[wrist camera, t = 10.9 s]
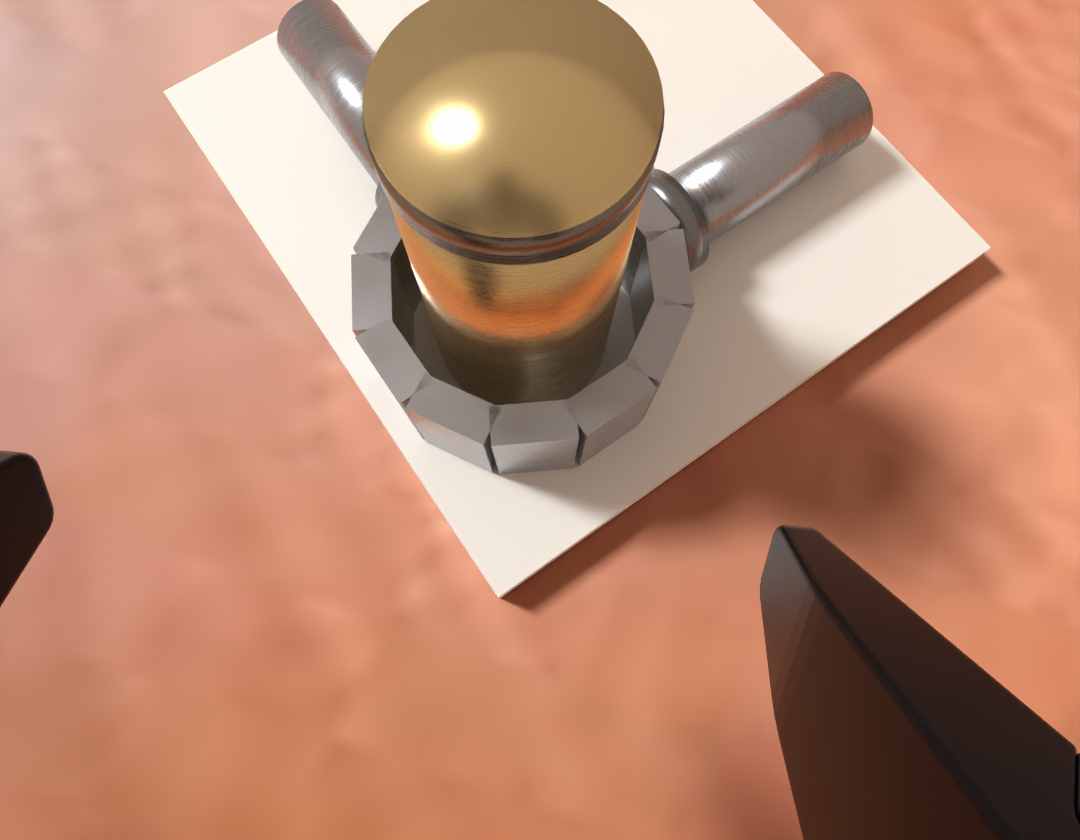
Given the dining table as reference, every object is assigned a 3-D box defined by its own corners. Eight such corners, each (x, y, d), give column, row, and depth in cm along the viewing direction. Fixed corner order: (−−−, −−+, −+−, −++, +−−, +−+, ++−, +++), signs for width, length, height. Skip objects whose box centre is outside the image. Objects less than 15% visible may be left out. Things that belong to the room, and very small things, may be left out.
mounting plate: (971, 262, 23) (990, 247, 22) (500, 598, 20) (497, 597, 19) (607, -122, 28) (609, -148, 27) (178, 111, 25) (163, 91, 24)
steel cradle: (911, 239, 23) (984, 163, 19) (485, 533, 20) (473, 514, 17) (608, -86, 26) (619, -203, 23) (215, 131, 24) (154, 40, 20)
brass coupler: (642, 352, 21) (729, 129, 12) (501, 448, 21) (471, 292, 11) (543, 228, 22) (548, -68, 13) (405, 314, 22) (302, 66, 12)
